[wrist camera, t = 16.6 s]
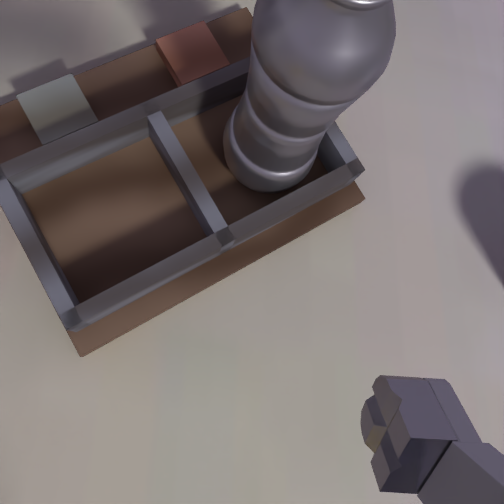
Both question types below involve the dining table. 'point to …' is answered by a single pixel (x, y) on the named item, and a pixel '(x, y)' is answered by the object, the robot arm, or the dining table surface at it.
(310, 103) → the plastic bottle
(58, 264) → the socket board
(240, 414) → the dining table surface
